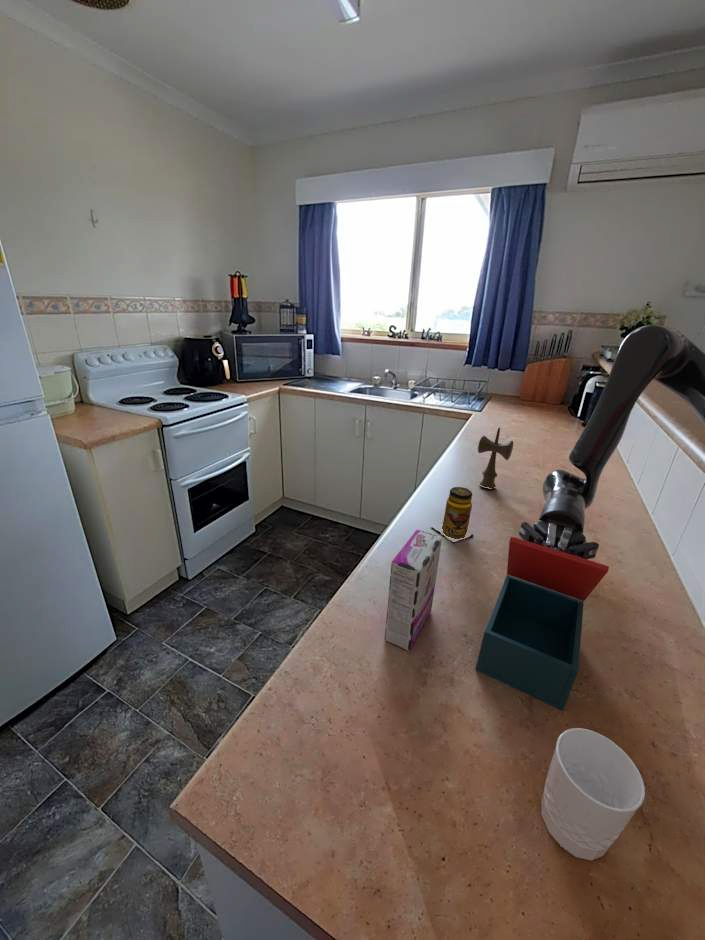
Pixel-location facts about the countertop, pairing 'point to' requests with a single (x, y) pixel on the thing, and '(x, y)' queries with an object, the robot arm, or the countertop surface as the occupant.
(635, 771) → the white cup
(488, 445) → the kendama
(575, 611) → the box
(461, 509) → the condiment
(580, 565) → the lid
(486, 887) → the countertop surface
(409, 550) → the candy bar box
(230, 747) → the countertop surface
